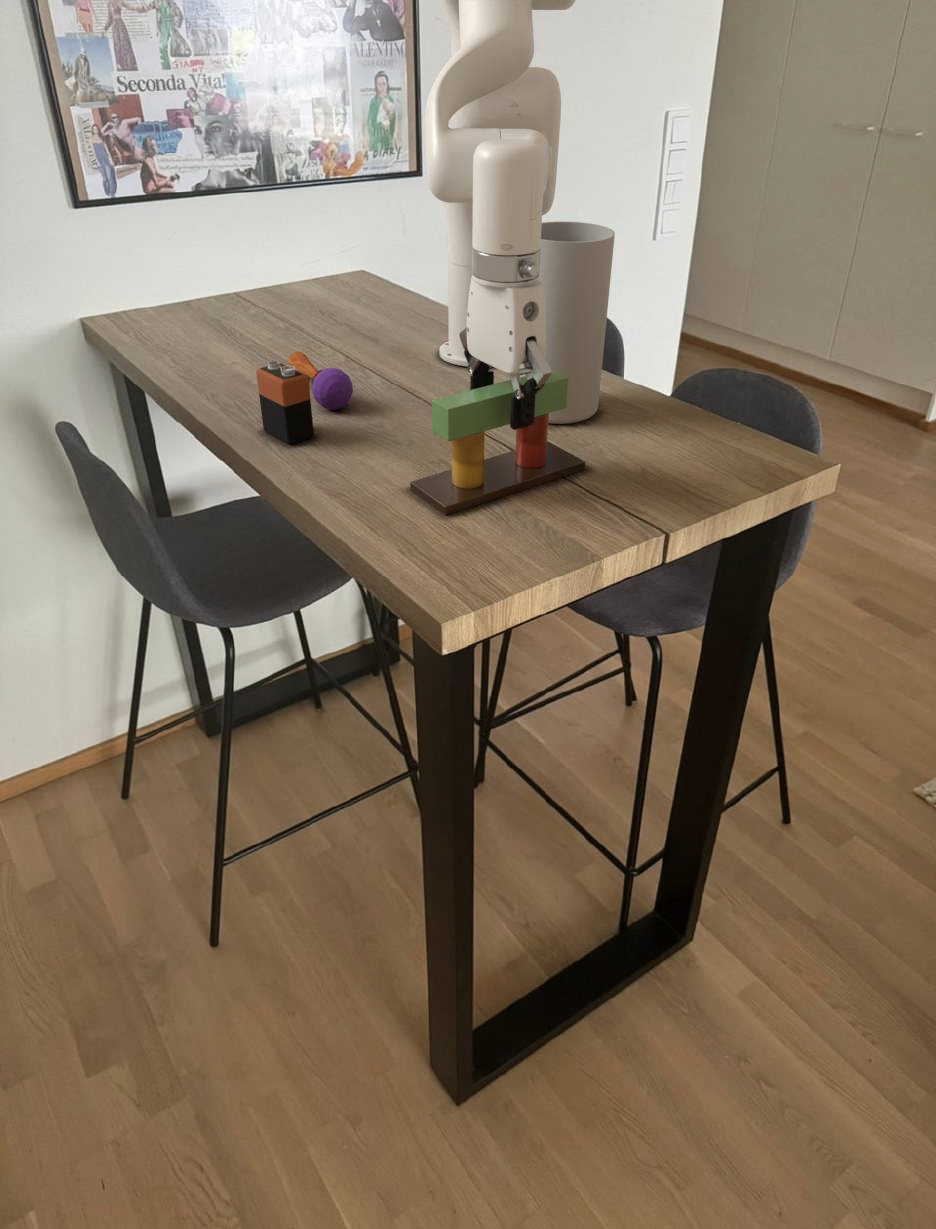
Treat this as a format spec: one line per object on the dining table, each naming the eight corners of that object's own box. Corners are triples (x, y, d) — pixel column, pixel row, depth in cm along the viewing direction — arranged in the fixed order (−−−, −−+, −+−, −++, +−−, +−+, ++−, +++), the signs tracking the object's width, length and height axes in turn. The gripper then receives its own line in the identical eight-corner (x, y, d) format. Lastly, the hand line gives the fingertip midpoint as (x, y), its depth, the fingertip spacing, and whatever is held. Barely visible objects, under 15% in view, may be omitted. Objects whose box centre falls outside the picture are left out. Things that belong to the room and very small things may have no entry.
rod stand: (546, 448, 122) (549, 391, 118) (584, 469, 117) (590, 410, 112) (410, 490, 112) (408, 429, 107) (445, 515, 107) (445, 452, 102)
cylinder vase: (502, 418, 131) (508, 237, 116) (527, 389, 140) (536, 218, 126) (586, 431, 127) (602, 246, 113) (605, 400, 137) (623, 226, 122)
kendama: (316, 344, 145) (360, 374, 130) (314, 381, 148) (356, 414, 132) (280, 342, 142) (320, 372, 127) (279, 380, 145) (318, 414, 130)
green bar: (548, 399, 115) (550, 369, 113) (566, 408, 113) (568, 377, 111) (431, 431, 107) (431, 399, 104) (448, 441, 104) (448, 409, 102)
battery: (289, 446, 122) (281, 375, 117) (262, 431, 126) (253, 362, 121) (315, 437, 125) (309, 367, 119) (288, 423, 129) (280, 355, 123)
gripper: (583, 277, 95) (571, 432, 105) (486, 245, 107) (484, 387, 117) (527, 288, 92) (520, 447, 102) (434, 254, 103) (436, 400, 114)
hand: (501, 414), depth 109 cm, fingers open, 7 cm apart
